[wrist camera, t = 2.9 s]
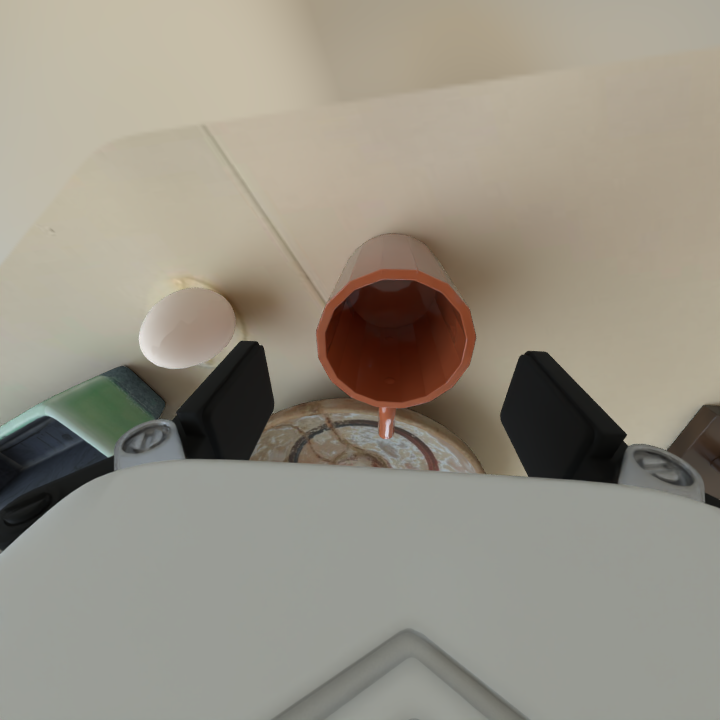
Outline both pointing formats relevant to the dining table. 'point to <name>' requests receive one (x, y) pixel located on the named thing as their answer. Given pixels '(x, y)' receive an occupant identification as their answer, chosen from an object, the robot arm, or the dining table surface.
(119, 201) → the dining table surface
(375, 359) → the mug
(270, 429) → the ceramic bowl
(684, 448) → the bent pole stand
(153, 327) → the egg
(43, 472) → the planter
